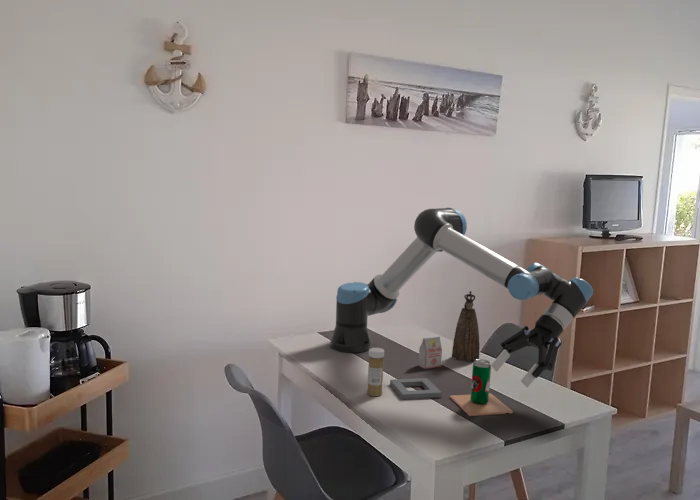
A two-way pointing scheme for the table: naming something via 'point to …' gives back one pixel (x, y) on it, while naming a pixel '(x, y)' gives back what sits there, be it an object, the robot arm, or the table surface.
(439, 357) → the white red carton
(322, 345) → the table surface
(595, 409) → the table surface
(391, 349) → the table surface
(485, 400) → the soda can
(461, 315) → the statue
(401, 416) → the table surface
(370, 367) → the sprinkles bottle
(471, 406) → the terracotta tile
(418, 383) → the socket block
